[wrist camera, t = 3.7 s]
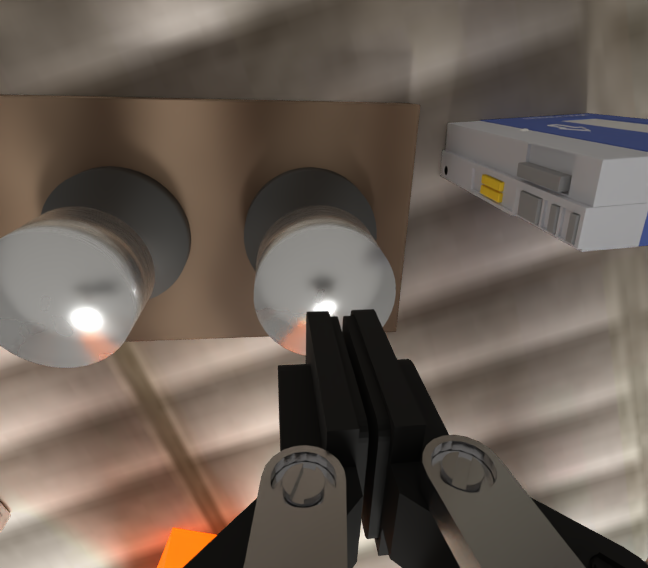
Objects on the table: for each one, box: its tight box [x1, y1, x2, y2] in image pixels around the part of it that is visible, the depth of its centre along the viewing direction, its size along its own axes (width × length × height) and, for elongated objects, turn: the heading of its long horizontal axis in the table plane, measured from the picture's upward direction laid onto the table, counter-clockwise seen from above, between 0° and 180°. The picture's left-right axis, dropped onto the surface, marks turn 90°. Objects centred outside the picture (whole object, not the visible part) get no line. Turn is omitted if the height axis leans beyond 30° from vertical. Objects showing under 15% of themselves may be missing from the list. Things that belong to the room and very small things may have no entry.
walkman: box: [440, 113, 648, 252], centre depth 18 cm, size 8×3×12 cm, turn 93°
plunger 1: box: [0, 206, 155, 368], centre depth 16 cm, size 5×5×3 cm
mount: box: [0, 94, 420, 346], centre depth 21 cm, size 28×12×3 cm, turn 88°
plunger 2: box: [254, 205, 396, 356], centre depth 17 cm, size 5×5×3 cm
